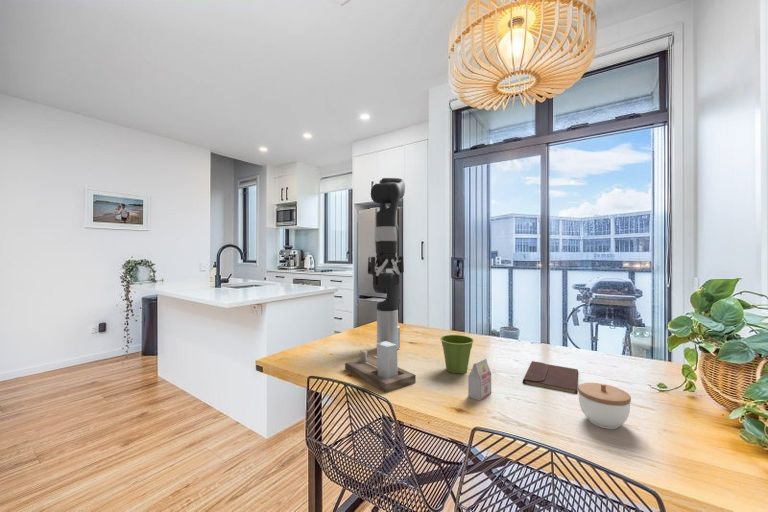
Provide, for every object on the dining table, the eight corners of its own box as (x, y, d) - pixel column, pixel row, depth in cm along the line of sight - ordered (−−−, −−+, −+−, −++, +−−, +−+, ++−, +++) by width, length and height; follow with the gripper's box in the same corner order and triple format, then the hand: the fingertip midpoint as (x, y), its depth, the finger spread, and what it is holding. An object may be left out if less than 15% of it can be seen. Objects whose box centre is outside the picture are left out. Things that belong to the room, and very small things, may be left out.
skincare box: (398, 381, 105) (398, 344, 105) (387, 385, 102) (387, 346, 102) (386, 375, 110) (386, 340, 110) (376, 379, 107) (376, 342, 107)
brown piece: (372, 362, 123) (372, 346, 123) (415, 382, 104) (415, 364, 104) (345, 369, 116) (345, 352, 116) (386, 392, 97) (385, 372, 97)
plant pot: (435, 373, 112) (435, 340, 112) (445, 362, 123) (445, 333, 122) (469, 379, 107) (469, 345, 106) (477, 367, 117) (477, 336, 117)
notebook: (578, 373, 112) (578, 368, 112) (577, 395, 95) (577, 388, 95) (531, 365, 120) (531, 360, 120) (522, 384, 103) (522, 378, 103)
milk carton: (468, 396, 94) (468, 362, 94) (479, 389, 99) (480, 357, 99) (479, 400, 91) (479, 365, 91) (491, 393, 96) (491, 359, 96)
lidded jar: (608, 411, 85) (608, 375, 85) (642, 434, 74) (642, 393, 74) (568, 412, 85) (568, 376, 84) (597, 435, 74) (597, 394, 74)
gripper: (395, 240, 121) (395, 284, 121) (363, 240, 113) (363, 286, 113) (408, 240, 115) (408, 285, 115) (376, 239, 107) (376, 288, 107)
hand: (386, 285), depth 114 cm, fingers open, 8 cm apart
